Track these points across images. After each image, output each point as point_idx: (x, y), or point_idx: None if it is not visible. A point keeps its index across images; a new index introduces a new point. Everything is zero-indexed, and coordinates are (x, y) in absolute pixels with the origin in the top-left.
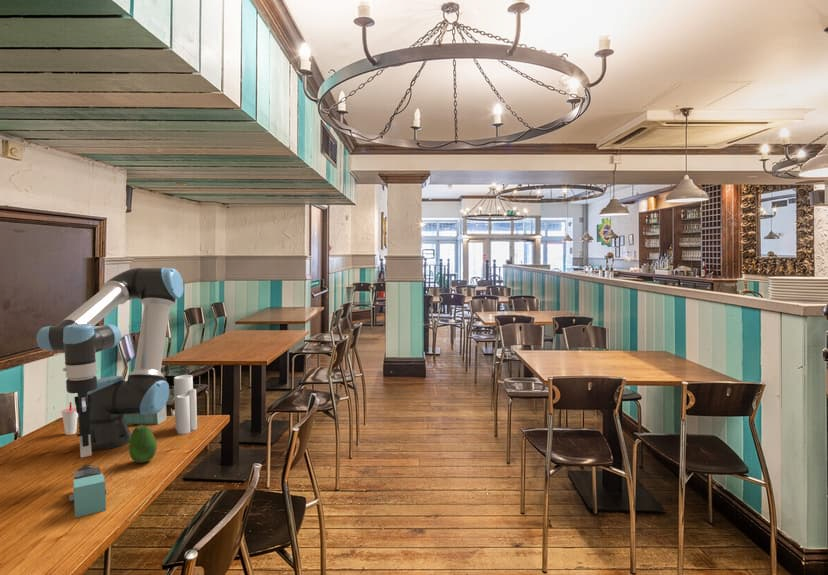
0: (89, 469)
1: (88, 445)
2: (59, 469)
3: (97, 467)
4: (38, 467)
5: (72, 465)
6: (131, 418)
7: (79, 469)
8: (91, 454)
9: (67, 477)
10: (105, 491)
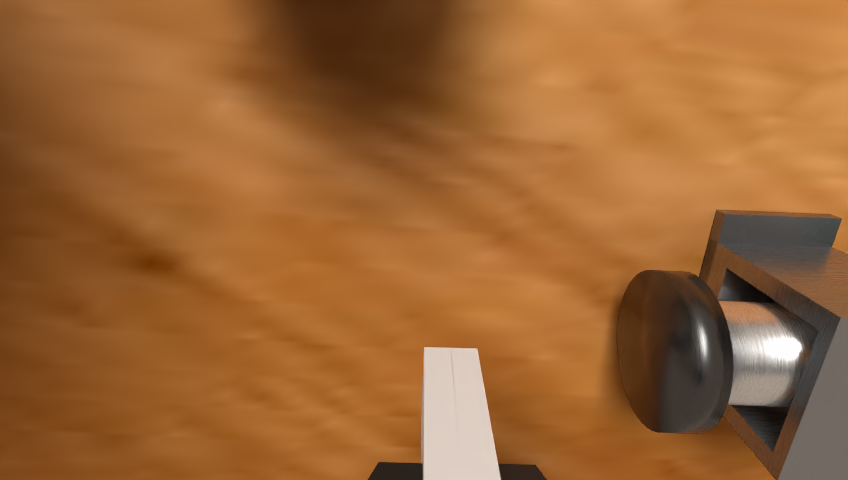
0: (830, 387)
1: (539, 470)
2: (156, 390)
3: (840, 330)
4: (63, 469)
5: (115, 329)
6: None
7: (700, 431)
8: (476, 354)
9: (333, 367)
10: (818, 220)
